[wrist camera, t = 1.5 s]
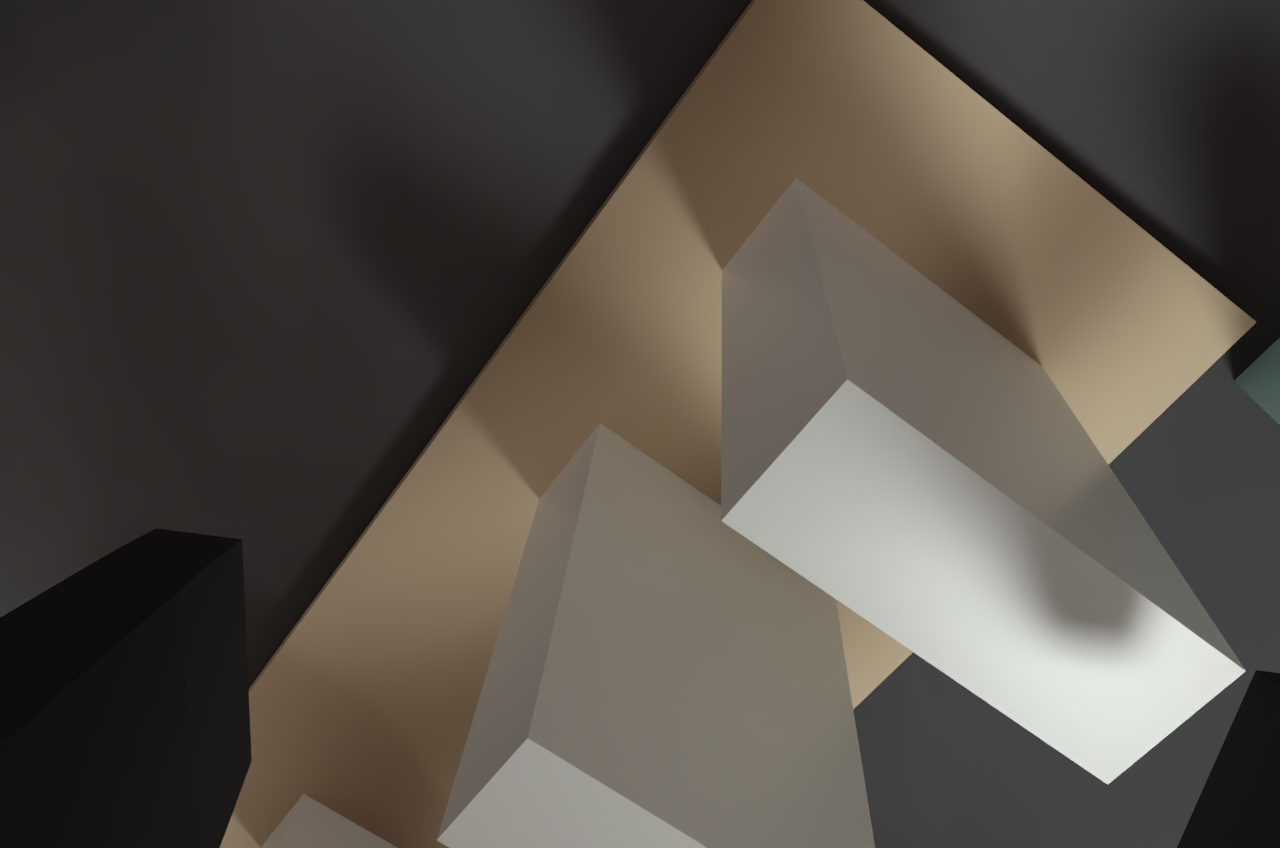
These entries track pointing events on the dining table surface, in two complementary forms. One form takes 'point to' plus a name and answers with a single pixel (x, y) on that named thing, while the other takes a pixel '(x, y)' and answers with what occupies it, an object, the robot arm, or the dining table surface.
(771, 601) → the domino
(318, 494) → the dining table surface
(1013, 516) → the domino
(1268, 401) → the teal domino
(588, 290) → the oak board
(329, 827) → the domino
